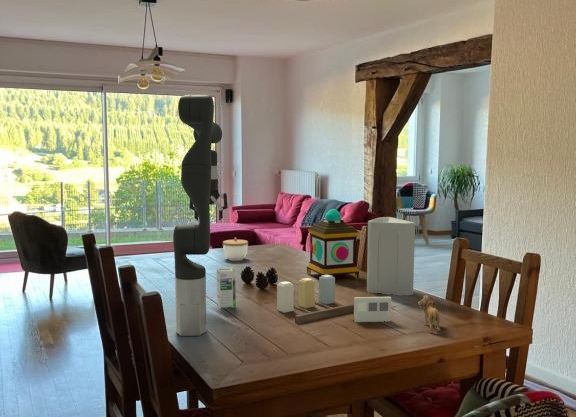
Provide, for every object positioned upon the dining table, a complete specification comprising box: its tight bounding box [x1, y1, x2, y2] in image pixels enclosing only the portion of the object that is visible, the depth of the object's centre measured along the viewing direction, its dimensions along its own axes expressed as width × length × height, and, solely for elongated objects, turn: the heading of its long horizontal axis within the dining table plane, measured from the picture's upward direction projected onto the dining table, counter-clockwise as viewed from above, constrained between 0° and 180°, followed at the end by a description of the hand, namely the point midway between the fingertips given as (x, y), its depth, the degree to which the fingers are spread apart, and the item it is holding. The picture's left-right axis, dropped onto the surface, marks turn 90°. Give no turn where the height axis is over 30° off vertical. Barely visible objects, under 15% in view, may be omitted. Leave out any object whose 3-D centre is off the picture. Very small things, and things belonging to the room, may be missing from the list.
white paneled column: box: [366, 216, 416, 296], centre depth 222 cm, size 19×15×28 cm
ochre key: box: [298, 277, 316, 309], centre depth 196 cm, size 4×4×10 cm
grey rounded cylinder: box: [318, 275, 336, 305], centre depth 201 cm, size 4×4×10 cm
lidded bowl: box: [222, 237, 249, 262], centre depth 283 cm, size 13×13×11 cm
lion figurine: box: [417, 295, 441, 335], centre depth 177 cm, size 15×5×9 cm, turn 6°
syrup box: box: [216, 266, 237, 310], centre depth 196 cm, size 6×6×14 cm
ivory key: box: [276, 281, 295, 313], centre depth 191 cm, size 4×4×10 cm
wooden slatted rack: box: [293, 301, 354, 325], centre depth 193 cm, size 20×28×4 cm
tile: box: [353, 296, 392, 323], centre depth 183 cm, size 1×12×8 cm, turn 94°
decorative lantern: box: [306, 208, 360, 280], centre depth 245 cm, size 20×20×30 cm
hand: (208, 220), depth 214 cm, fingers open, 8 cm apart
